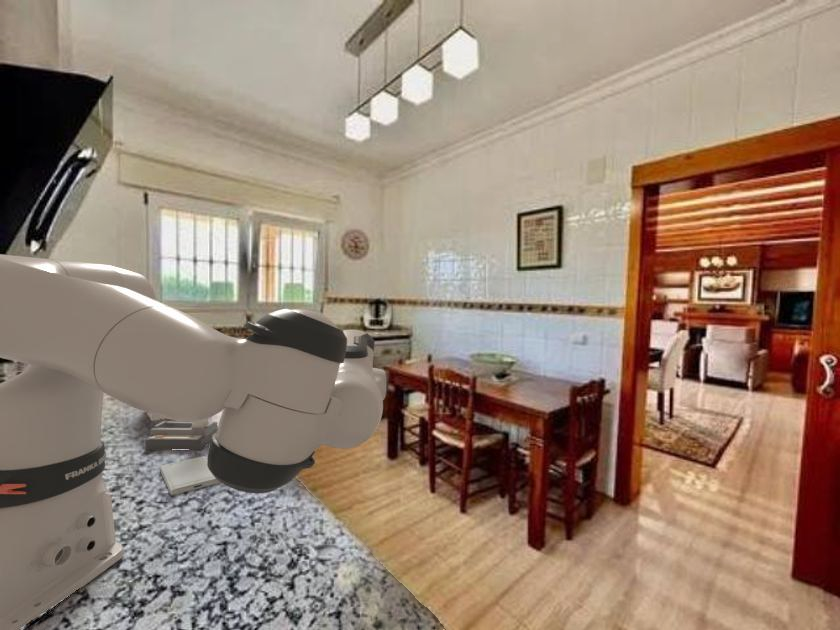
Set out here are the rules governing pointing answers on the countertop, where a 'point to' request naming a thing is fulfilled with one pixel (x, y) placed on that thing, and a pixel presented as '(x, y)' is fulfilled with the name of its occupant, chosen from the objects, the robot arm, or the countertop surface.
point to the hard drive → (187, 475)
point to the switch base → (179, 436)
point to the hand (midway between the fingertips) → (262, 381)
